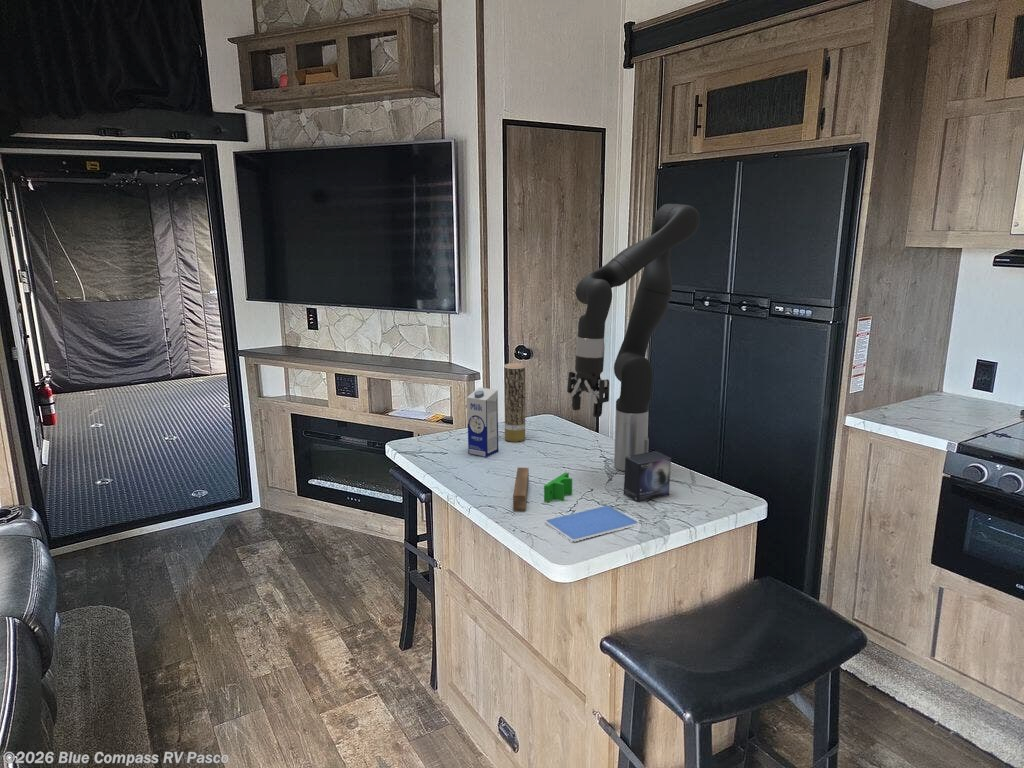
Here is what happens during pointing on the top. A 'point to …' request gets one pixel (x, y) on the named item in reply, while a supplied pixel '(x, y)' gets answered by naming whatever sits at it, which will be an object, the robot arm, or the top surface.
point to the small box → (647, 476)
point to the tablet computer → (590, 523)
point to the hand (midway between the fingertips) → (586, 413)
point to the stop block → (521, 489)
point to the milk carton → (482, 422)
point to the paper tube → (514, 401)
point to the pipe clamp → (558, 488)
